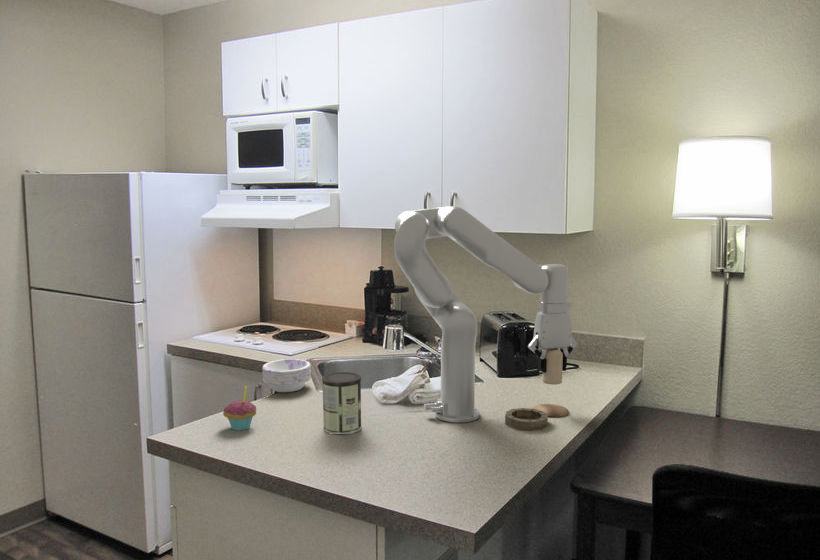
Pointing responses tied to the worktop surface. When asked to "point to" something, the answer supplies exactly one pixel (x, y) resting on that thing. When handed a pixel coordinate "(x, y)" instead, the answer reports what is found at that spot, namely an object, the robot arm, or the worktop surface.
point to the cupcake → (240, 413)
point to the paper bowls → (286, 374)
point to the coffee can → (342, 403)
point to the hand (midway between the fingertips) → (552, 370)
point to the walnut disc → (552, 410)
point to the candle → (553, 366)
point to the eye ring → (530, 425)
